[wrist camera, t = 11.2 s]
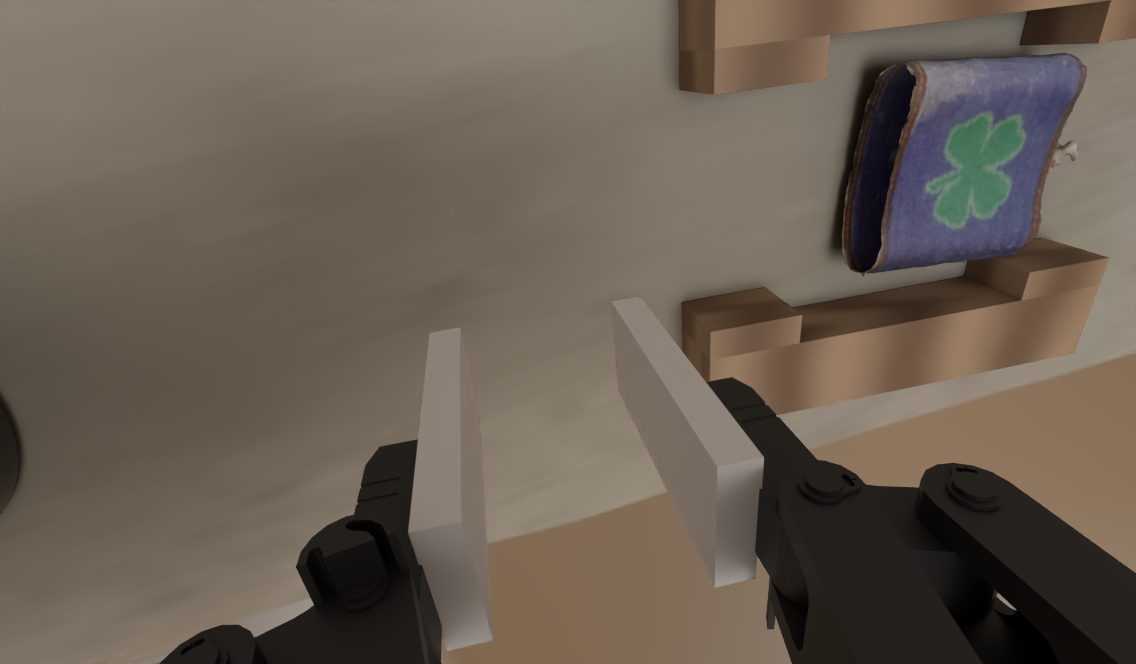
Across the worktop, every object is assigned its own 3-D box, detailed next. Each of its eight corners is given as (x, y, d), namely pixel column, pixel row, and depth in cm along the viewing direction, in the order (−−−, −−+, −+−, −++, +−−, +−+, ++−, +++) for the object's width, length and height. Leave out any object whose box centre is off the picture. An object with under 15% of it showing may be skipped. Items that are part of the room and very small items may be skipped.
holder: (683, 391, 31) (709, 429, 28) (678, -66, 21) (716, -88, 18) (1016, 325, 33) (1074, 353, 30) (1148, -112, 23) (1253, -138, 20)
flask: (921, 60, 21) (1132, 50, 24) (867, 62, 24) (1061, 52, 26) (874, 283, 25) (1057, 257, 28) (831, 264, 28) (1002, 241, 30)
